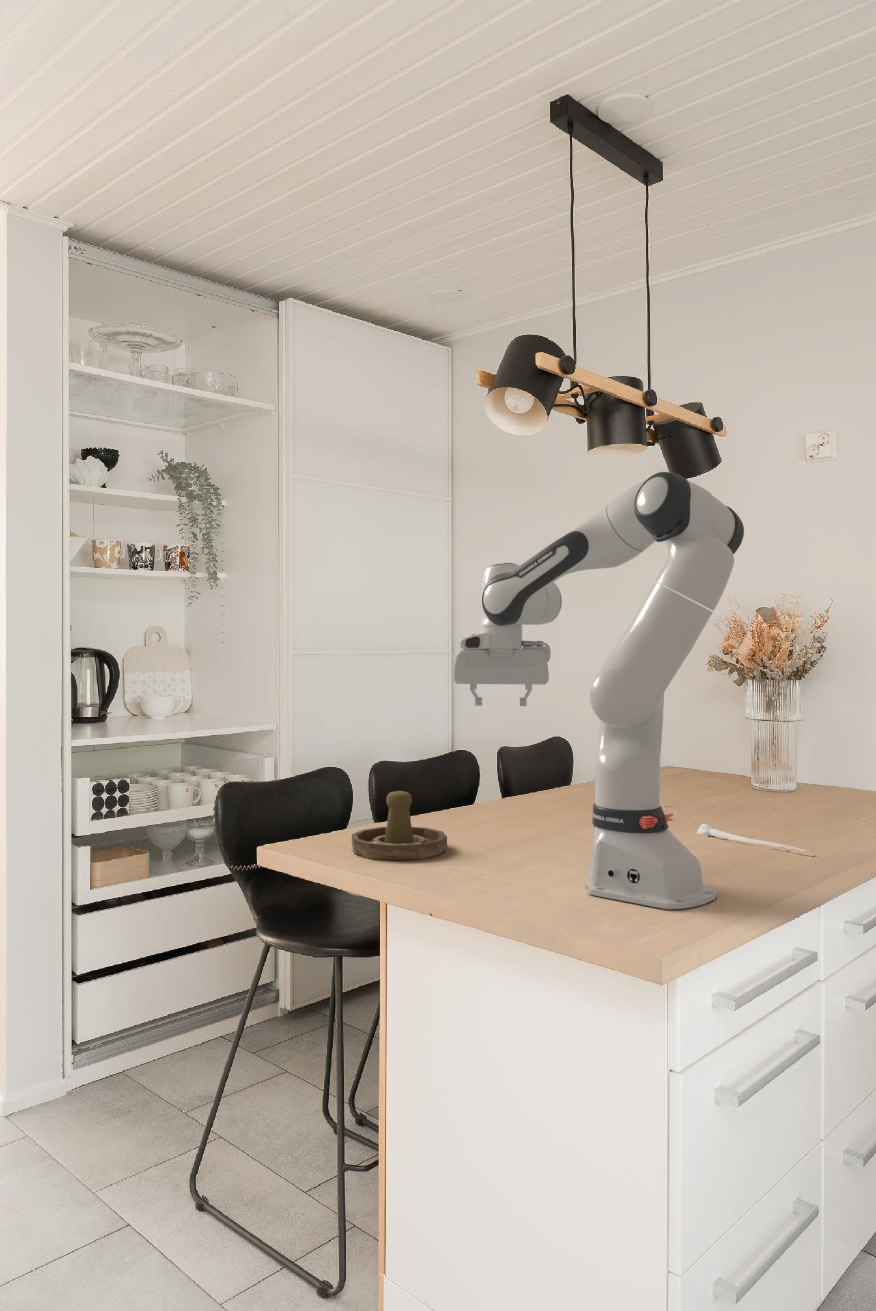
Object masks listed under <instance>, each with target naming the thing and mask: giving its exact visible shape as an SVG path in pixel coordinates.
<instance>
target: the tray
mask: <svg viewBox="0 0 876 1311" xmlns="http://www.w3.org/2000/svg"><path fill="white" fill-rule="evenodd" d="M411 827H412V835H413V843H408V844H391V843H385V836H386V828H387V826H379V827H371V828H365V829H361V830H359V831H356V832H354V833H352V834H351V846H352V853H353V855H356V856H358V857H361V858H365V859H369V860H375V861H376V860H377V861H391V862H394V861H395V862H396V861H398V862H403V861H404V862H405V861H418V860H419V861H421V860H426V859H433V858H436V857H439V856H441V855H443V854H444V853H445V852H446V851H447V850H446V848H447V847H448V836H447V835H446V834H445V832H444V831H443V830H442V831H441V830H438V829H433V828H430V827H421V826H411Z"/></svg>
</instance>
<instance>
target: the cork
mask: <svg viewBox="0 0 876 1311" xmlns="http://www.w3.org/2000/svg"><path fill="white" fill-rule="evenodd" d="M385 803H386V805H387V807H388V815H387V820H386V821H387V822H386V827H387V828H386V836H385V843H391V844H408V843H413V835H412V827H413V826H412V820H411V813H410V812H411V811H410V807H411V805H412V803H413V798H412V795H411V794H410V793H409V792H407V791H404V790H396V791H391V792H389V793H388V794H387V796H386V802H385Z"/></svg>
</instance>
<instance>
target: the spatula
mask: <svg viewBox="0 0 876 1311" xmlns="http://www.w3.org/2000/svg"><path fill="white" fill-rule="evenodd" d="M697 834H703V835H711V836H717V837H721V838H728V839H730V840H738V841H743V842H750V843H755V844H765V845H769V846H774V847H784V848H787V849H795V850H800V851H809V850H807V849H803V848H799V847H796V846H793V845H792V846H791V845H787V844H783V843H777V842H771V841H767V840H760V839H754V838H749V837H746V836H741V835H737V834H733V833H729V832H725V831H723V830H720V829H716V828H714V827H713V826H711V825H709V823H708V824H707V823H702V824H701V825H699V827H698V829H697V832H696V835H697Z"/></svg>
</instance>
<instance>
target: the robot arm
mask: <svg viewBox="0 0 876 1311" xmlns="http://www.w3.org/2000/svg"><path fill="white" fill-rule="evenodd" d="M744 536H745V526H744V524H743V520H742V519H741V517H740V516H739V514H738V513H736V511H735V510H733V509H732V507H729V506H727V505H725V504H724V503H723V502H722V501H721V500H719V499H718V498H717V497H715V496H714V495H713V494H712V493H711V492H710V491H709V490H707V489H705V488H703V487H702V486H701V485H698V484H697V483H694V482H691V481H690V480H688V479H687V478H685V476H682V475H680V474H677V473H674V472H670V471H660V472H657V473H655V474H652V475H651V476H649V477H648V478H647V479H645V480H643V481H641V482H640V483H638V484H636V485H634V486H632V487H631V488H629V489H628V490H626V491H625V492H623V493H621V494H620V495H618V496H617V497H616V498H614V499H613V500H612V501H611V502H609V504H607V505H606V506H605V507H603V508H602V509H601V510H600V511H598V512H597V513H596V514H594V515H593V516H592V517H590V518H589V519H587V520H586V521H585V522H584V523H582V524H581V525H579V526H578V527H576V528H574V529H573V530H570V532H568V533H566V534H565V535H563V536H562V537H560V538H558V539H556V540H554V542H552V543H550V544H549V545H547V546H546V547H545V548H543V549H542V550H540V551H539V552H537V553H536V554H534V555H533V556H532V557H531V558H529V559H527V560H526V561H524V562H523V563H522V564H520V565H519V564H517V563H514V562H504V563H503V562H502V563H496V564H493V565H490V566H489V567H487V568H486V569H485V570H484V572H483V576H482V579H481V585H480V586H481V587H480V609H481V613H482V616H481V617H482V618H481V622H480V632H479V633H477V634H476V633H474V634H471V635H469V636H467V637H463V638H461V639H460V640H459V648H460V650H459V651H458V652H457V654H456V657H455V660H454V665H453V676H452V677H453V682H455V684H457V685H459V684H460V685H469V690H470V692H471V694H472V696H473V697H474V706H475V707H478V706H480V707H482V706H483V702H482V701H483V697H482V696H479V695H478V693H477V692H476V690H477V689H478V685H524V686H525V690H526V693H525V694H524V696H523V697H519V707H527V704H528V703H527V702H528V701H527V698H528V697H529V696H530V694H531V692H532V691H533V685H536V686H537V685H546V684H548V683H549V681H550V675H549V674H550V673H549V665H548V662H549V661H550V660H551V647H550V645H549V644H548V643H545V642H544V641H543V640H537V641H535V640H534V641H533V640H523V626H524V625H526V626H528V625H529V626H530V625H534V626H535V625H539V626H540V625H545V624H546V625H547V624H549V623H552V622H553V621H554V620H556V618H557V617H558V616H559V614H560V612H561V609H562V603H563V600H562V593H561V591H560V588H559V587H558V585H557V584H556V583H555V582H556V581H558V580H559V579H561V578H562V577H564V576H568V575H569V574H573V573H576V572H579V571H580V572H581V571H587V570H588V571H589V570H596V569H610V568H612V569H613V568H617V567H619V566H621V565H623V564H626V563H628V562H629V561H631V560H633V559H635V558H636V557H638V556H639V555H640V554H641V553H643V552H644V551H645V550H647V549H648V548H649V547H651V546H652V545H653V544H654V543H655V542H657V543H662V542H665V544H666V547H667V549H668V554H667V559H666V562H665V563H664V566H663V567H662V569H661V570H660V572H659V574H658V575H657V577H656V578H655V581H654V582H653V584H652V585H651V587H650V589H649V591H648V592H647V595H645V598H644V600H643V602H642V603H641V605H640V607H639V609H638V611H637V612H636V613H635V616H634V618H633V620H632V621H631V622H630V624H629V625H628V628H627V629H626V630H625V631H624V633H623V634H622V636H621V637H620V639H619V640H618V641H617V643H616V645H615V646H614V648H613V649H612V651H611V652H610V654H609V655H608V657H607V659H606V660H605V662H604V664H603V665H602V667H601V668H600V670H599V672H598V673H597V674H596V676H595V677H594V680H593V681H592V684H591V686H590V690H589V700H590V702H589V703H590V706H591V709H592V711H593V713H594V714H595V715H596V717H597V718H598V719H599V721H600V724H599V734H598V740H597V742H598V743H597V751H596V755H595V768H594V769H595V772H594V773H595V777H594V779H595V780H594V781H595V784H594V785H595V786H594V787H595V788H594V789H595V790H594V794H595V796H594V803H593V805H592V815H591V816H592V823H591V824H592V825H593V829H594V830H593V831H594V832H593V842H592V851H591V858H590V859H591V860H590V864H589V869H588V873H587V876H586V879H585V883H584V885H585V886H586V887H587V888H588V889H587V893H588V894H589V895H591V896H595V897H596V896H597V897H601V898H606V899H611V900H617V901H621V902H627V903H633V904H636V905H637V904H638V905H643V906H648V907H653V908H659V909H663V910H681V909H690V908H694V907H698V906H702V905H705V904H708V903H711V902H712V900H713V901H715V900H716V899H717V897H716V896H718V895H717V890H716V889H714V888H711V887H708V886H705V885H704V881H703V873H702V868H701V864H700V862H699V859H698V858H697V857H696V855H694V854H693V853H692V852H691V851H690V850H689V849H688V848H687V847H686V846H685V845H684V844H683V843H682V842H681V841H680V840H679V839H678V838H677V837H676V836H675V835H674V834H673V833H672V832H671V831H670V830H669V825H668V822H671V821H674V818H671V817H673V816H674V814H673V813H667V814H665V812H664V810H663V808H662V806H661V800H660V796H661V784H660V783H661V754H662V752H661V751H662V739H663V728H664V727H663V725H664V710H665V708H664V706H665V705H664V703H665V701H664V700H665V692H666V690H667V688H668V686H670V683H671V682H672V681H673V679H674V677H675V676H676V674H677V672H678V670H680V668H681V667H682V664H683V663H684V662H685V660H686V658H687V657H688V656H689V654H690V653H691V651H692V650H693V647H694V646H695V645H696V642H697V640H698V639H699V637H700V635H701V634H702V632H703V630H704V628H705V627H706V625H707V624H708V622H709V620H710V618H711V616H712V615H713V613H714V611H715V610H716V608H717V606H718V604H719V602H720V600H721V598H722V596H723V594H724V591H725V589H726V587H727V585H728V582H729V579H730V577H731V574H732V572H733V569H734V565H735V556H734V554H735V553H736V552H737V551H738V550H739V548H740V546H741V545H742V542H743V539H744ZM715 898H716V899H715ZM710 901H711V902H710ZM707 902H708V903H707Z"/></svg>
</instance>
